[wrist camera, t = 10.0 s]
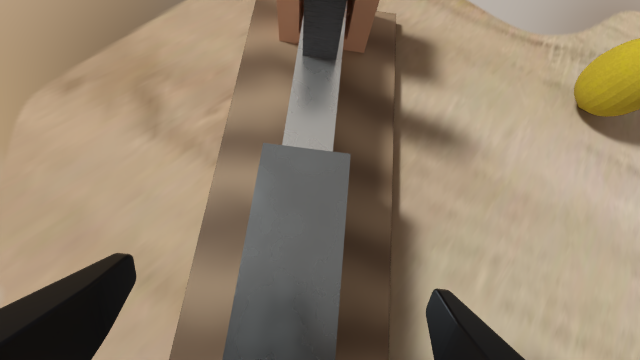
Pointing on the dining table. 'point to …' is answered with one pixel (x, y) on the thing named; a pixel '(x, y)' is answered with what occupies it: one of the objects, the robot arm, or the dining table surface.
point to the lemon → (611, 82)
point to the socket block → (356, 25)
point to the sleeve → (291, 258)
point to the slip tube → (316, 76)
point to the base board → (240, 177)
